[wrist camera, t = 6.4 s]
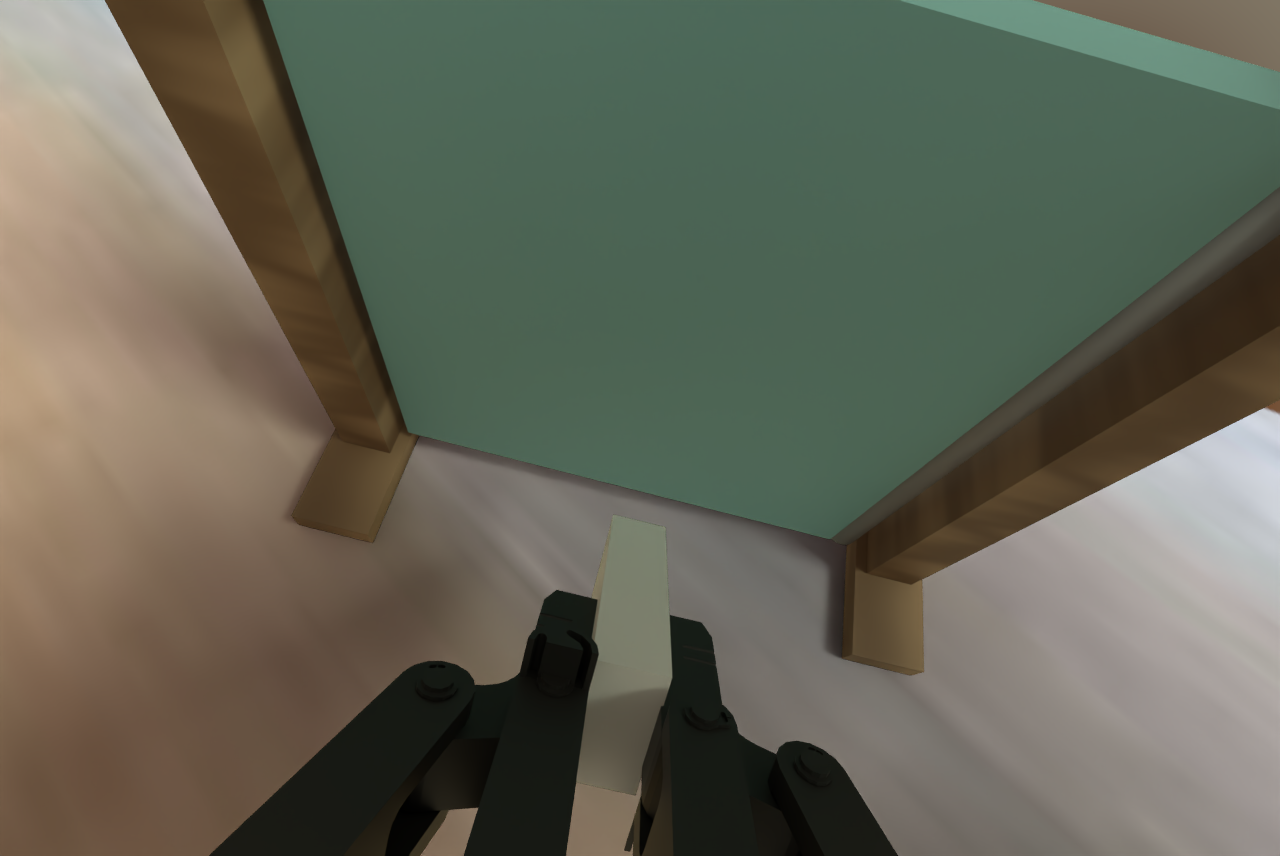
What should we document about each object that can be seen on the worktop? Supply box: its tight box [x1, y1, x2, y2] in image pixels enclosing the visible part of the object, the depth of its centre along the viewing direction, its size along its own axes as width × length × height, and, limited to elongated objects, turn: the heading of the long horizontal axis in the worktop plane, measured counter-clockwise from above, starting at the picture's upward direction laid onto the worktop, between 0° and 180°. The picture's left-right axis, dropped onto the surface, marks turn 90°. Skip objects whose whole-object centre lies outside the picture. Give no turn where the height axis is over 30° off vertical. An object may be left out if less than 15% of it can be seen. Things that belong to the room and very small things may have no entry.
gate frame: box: [105, 0, 1280, 675], centre depth 18 cm, size 26×10×25 cm, turn 78°
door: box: [263, 0, 1280, 545], centre depth 19 cm, size 20×3×20 cm, turn 78°
